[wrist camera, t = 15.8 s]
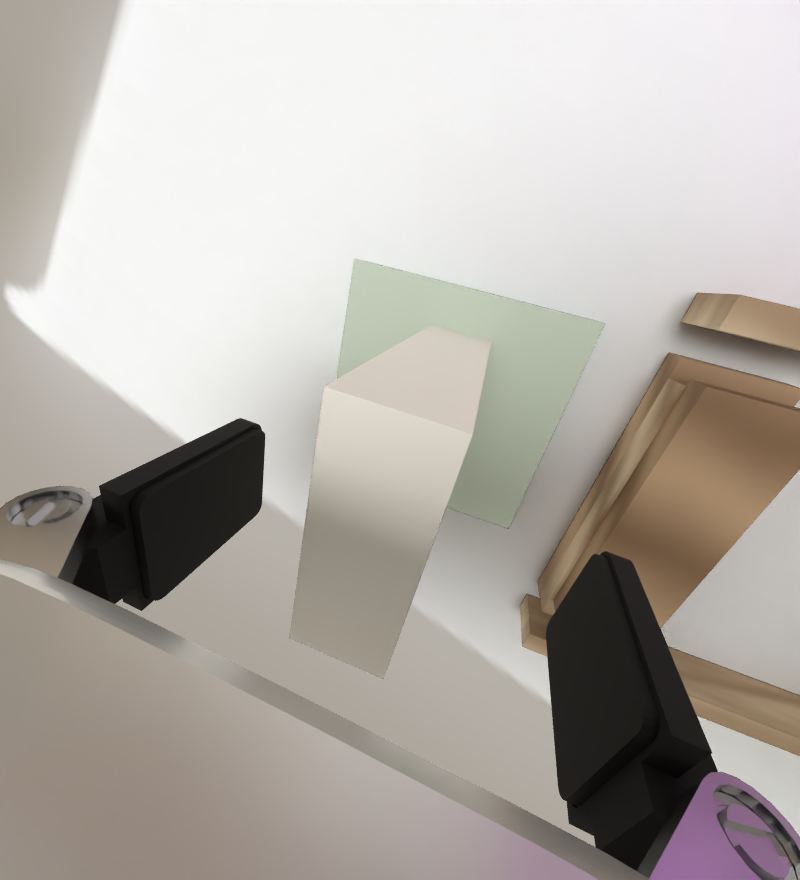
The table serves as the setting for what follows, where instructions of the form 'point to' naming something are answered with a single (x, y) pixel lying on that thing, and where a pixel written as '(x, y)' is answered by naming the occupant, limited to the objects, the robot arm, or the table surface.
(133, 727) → the robot arm
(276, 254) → the table surface
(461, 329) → the mat
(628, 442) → the offcut stack
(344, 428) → the cream rectangular block
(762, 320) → the frame
